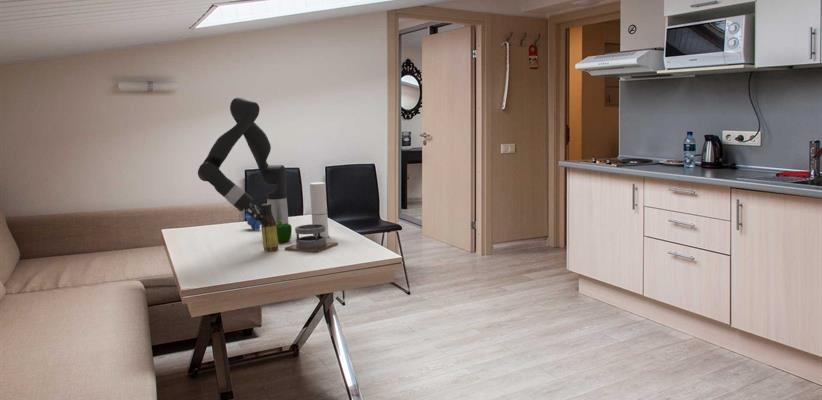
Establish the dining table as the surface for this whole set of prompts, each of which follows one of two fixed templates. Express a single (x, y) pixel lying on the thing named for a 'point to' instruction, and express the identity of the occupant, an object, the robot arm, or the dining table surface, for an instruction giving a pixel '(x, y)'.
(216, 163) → the robot arm
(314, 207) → the cylindrical container
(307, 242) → the collar stand
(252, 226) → the grapes
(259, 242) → the dining table surface
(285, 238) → the bell pepper
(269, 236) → the sauce bottle
